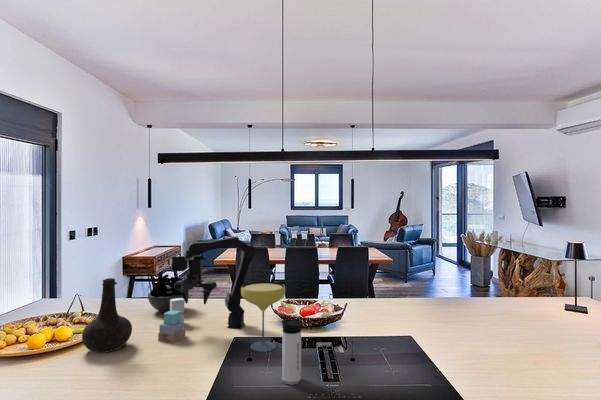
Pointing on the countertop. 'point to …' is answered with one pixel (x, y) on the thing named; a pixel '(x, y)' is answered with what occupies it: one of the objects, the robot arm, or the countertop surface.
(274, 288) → the cocktail glass
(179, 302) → the skincare box
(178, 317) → the teal cube
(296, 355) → the travel mug
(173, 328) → the slate slab
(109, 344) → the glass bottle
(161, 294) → the coal bowl
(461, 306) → the countertop surface
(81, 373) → the countertop surface
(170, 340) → the walnut slab
